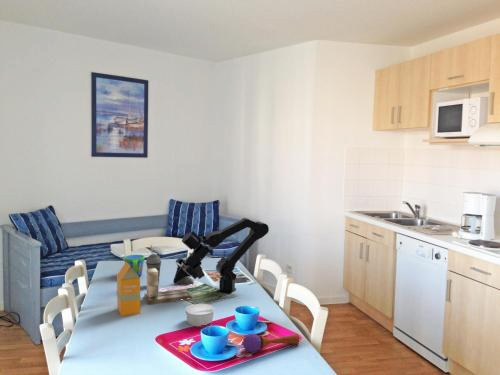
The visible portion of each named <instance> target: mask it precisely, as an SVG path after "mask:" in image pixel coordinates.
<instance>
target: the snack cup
mask: <svg viewBox="0 0 500 375" xmlns="http://www.w3.org/2000/svg"><path fill="white" fill-rule="evenodd" d="M145 258H146V257H145V255H143V254H130V255H129V254H128V255H125V256H124V257H123V261H124V263H125V262H127V263H128V264H129V265H130V266H131V267H132V269H133V270H134V271H135V272H136V274H137V275H138V276H139V277H140V276H142V275H143V271H144V270H143V269H144V261H145Z"/></svg>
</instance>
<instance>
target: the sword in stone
mask: <svg viewBox="0 0 500 375" xmlns="http://www.w3.org/2000/svg"><path fill="white" fill-rule="evenodd" d="M175 263H176V265H177V267H178V265H179V263H178V262H177V261H176V260H175ZM173 283H174V282H173ZM194 283H195V281H194V280H193V278H191V277H189V276H188V277H184V278H182V279H181V280H179V281H178V282H176V283H174V285H176V286H190V284H192V285H194Z"/></svg>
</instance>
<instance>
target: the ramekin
mask: <svg viewBox="0 0 500 375" xmlns="http://www.w3.org/2000/svg"><path fill="white" fill-rule="evenodd" d="M214 312H215V308H214V306H213V305H210V304H206V303H196V304H195V303H194V304H191V305H187V307H186V308H185V315H186V320H187V323H188V324H189V325H190V326H193V327H202V326H201V325H206V326H208V325H207V324H209V323H210V324H212V322H213V318H214ZM210 324H209V325H210Z"/></svg>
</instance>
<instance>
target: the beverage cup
mask: <svg viewBox="0 0 500 375" xmlns="http://www.w3.org/2000/svg"><path fill="white" fill-rule="evenodd" d="M150 250H151V254H150V255H149V256H147V258H146V261H145V264H146V270H147V269H152V268H156V269H157V271H158V287H159V284H160V272H161V267H162V266H161V265H162V260H161V257H160V256H159V255H158V254H156V253H155V254H154V252H153V245H152V244H151V245H150Z"/></svg>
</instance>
